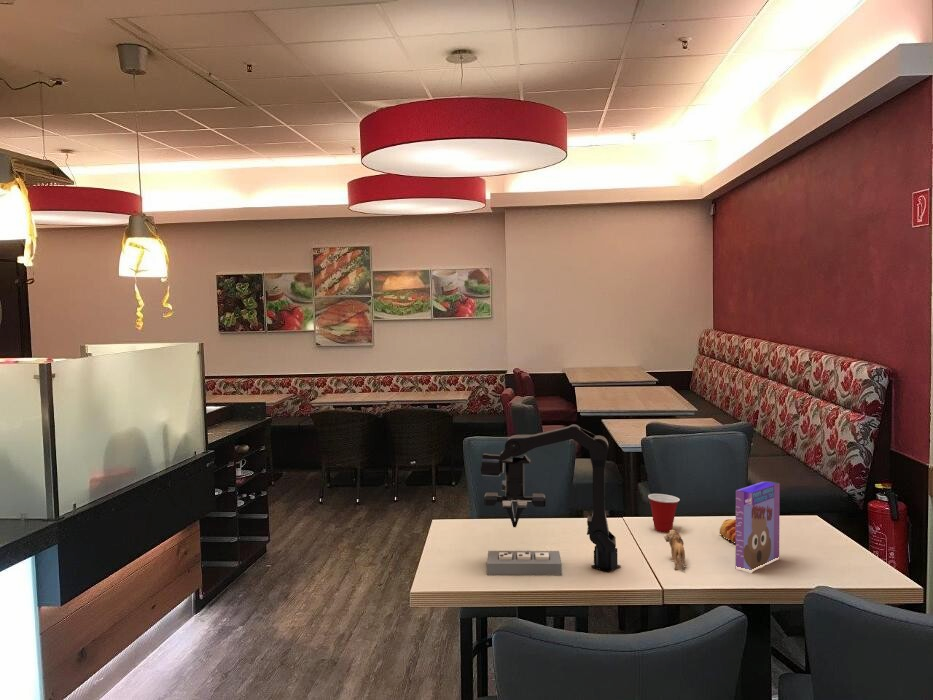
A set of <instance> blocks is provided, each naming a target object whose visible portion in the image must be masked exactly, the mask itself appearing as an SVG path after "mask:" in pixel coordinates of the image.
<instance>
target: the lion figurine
mask: <svg viewBox="0 0 933 700" xmlns="http://www.w3.org/2000/svg"><path fill="white" fill-rule="evenodd" d="M663 538H664V540H665V542H666V543H669V544H668V545H669V546H670V549H671V550H670V551H671V552H670V554H671V559H670V560H674V561H673V562H674V568H673V569H678V570H679V567H680V568H681V570H682V571H684V572H685V571H686V569H685V567H683V566H687V565H686V553H685V547H684V540H683V539H682V535H680V533H679V532H678V531H677V530H675V529H672V530H670V531H669V532H667V534H666V535H665V536H663ZM681 560H682V561H681ZM678 563H679V567H678Z"/></svg>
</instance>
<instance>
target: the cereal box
mask: <svg viewBox="0 0 933 700" xmlns="http://www.w3.org/2000/svg"><path fill="white" fill-rule="evenodd" d="M780 486H781V483H779V482H776V481H771V480H770V481H769V480H763V481H761V482H760V481H759V482H758V483H754V484H751V485H748V486H746V487H742V488H738V489H736V490H735V519H736V543H735V567H736V566H737V567H741V568H745V569H749V570H752V569H754V568H756V567H758V566H760V565H763V564H765V563H767V562H769V561H771V560H773V559H775V558H778V557H779V558H780V510H781V509H780V507H781V506H780V503H781V501H780V498H781V497H780V493H781V492H780Z"/></svg>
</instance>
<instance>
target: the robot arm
mask: <svg viewBox="0 0 933 700" xmlns="http://www.w3.org/2000/svg"><path fill="white" fill-rule="evenodd" d="M570 440H574V441H575V442H576V443H578V444H579V445H581V446H582V447H583V448H585V449H587V450H588V453H589V459H590V463H591V466H592V515H591V516H590V515H589V516H588V515H587V519H586V523H587V528H586V529H587V530H586V531H587V532H586V535H587V536H589V540H590V542H591V543H592V544H594V545H595V546H594V550H593V564H592V565H591V568H593V569H596V570H599V571H601V572H602V571H603V572H606V573H609V572H612V571H615V570H617V569H620V568H621V565H620V564H618V547H617V543H616V542H617V541H616V536H615V535H614V534H613V533H612V532H611V531H610V529H609V523H608V519H607V518H608V517H607V514H606V499H605V498H606V497H605V496H606V493H605V492H606V490H605V489H606V487H605V485H606V481H605V480H606V479H605V478H606V476H605V474H606V473H605V472H606V469H605V468H606V464H607V459H608V453H609V442H608V439H607V438H606V437H605V436H603V435H600V434H599V435H596V434H594V433H593V432H590V431H588V430H586V429H583V428H582V427H580V426H579V425H578V424H575V423H574V424H573V423H572V424H571V425H568V426H564V427H560V428H556V429H552V430H548V431H542V432H538V433H536V434H535V433H534V434H525V433H524V434H514V435H510V437H509V438H508V439H507V440H506V441H505V444H504V450H502V451H501V452H500V454H490V453H483V454H482V456H481V457H482V459H481V465H480V475H481V477H482V476H483V477H500V476H501V474H504V472H505V480H501V491H502V492H505V495H499V493H498V492H485V494H484V497H483V506H489V507H490V506H496V504H498V503H502V509H504V510H506V512H507V514H508V516H509V519H510V522H511V524H512V527H513V528H517V526H518V523H519V519H520V516H521V514H522V512H523V511H524V510H527V508H528V507H527V506H528V504H529V503H530V504H532V505H533V506H534V507H536V508H537V507H538V508H540V507H541V508H545V507H546V495H545V494H544V493H532V496H525V464H527V465H529V464H530V463H531V458H529V457H528V456H527V454H526V453H528V452H531V451H532V450H534V449H537V448H540V447H545V446H548V445H549V446H550V445H553V444H557V443H558V444H559V443H561V442H566V441H570ZM521 455H523V456H521ZM511 457H512V459H511ZM514 503H516V509H515V513H514Z"/></svg>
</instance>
